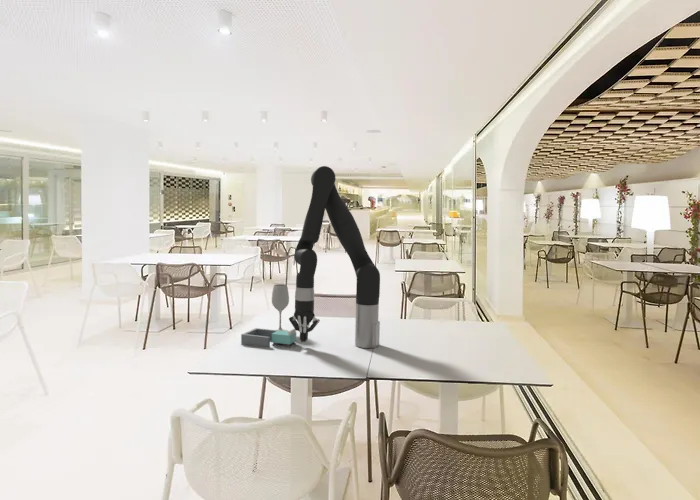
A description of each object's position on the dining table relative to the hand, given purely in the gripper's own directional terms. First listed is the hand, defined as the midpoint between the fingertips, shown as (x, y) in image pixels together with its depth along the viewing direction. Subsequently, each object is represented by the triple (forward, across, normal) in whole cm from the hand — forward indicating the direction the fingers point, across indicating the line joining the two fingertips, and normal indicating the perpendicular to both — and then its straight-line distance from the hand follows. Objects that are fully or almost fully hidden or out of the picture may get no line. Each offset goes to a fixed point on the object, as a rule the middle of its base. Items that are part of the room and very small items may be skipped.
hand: (303, 341), depth 192 cm
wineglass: (+3, +20, -18) cm, 27 cm away
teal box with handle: (+2, +8, 0) cm, 9 cm away
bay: (+2, +18, 0) cm, 18 cm away
